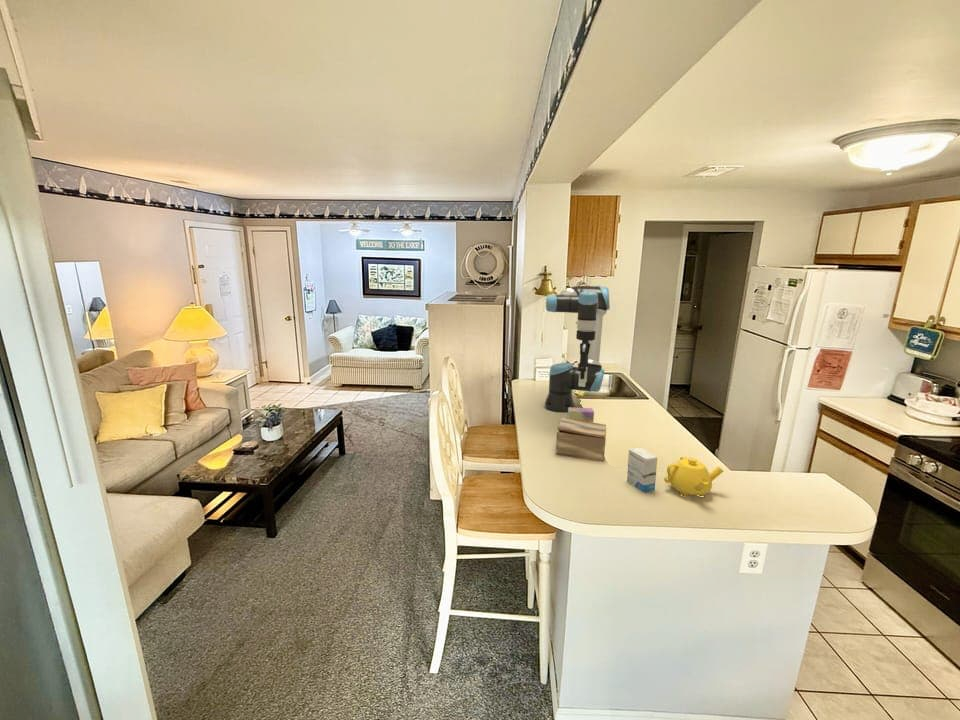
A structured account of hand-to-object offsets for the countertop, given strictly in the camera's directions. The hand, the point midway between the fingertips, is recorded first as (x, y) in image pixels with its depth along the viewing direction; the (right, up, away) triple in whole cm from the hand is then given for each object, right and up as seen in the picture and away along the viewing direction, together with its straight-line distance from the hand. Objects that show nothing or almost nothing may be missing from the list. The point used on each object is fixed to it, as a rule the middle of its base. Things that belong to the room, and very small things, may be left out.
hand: (582, 383), depth 176 cm
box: (0, -23, +5) cm, 23 cm away
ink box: (+10, -32, -37) cm, 50 cm away
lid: (-3, -17, -14) cm, 22 cm away
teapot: (+25, -33, -41) cm, 59 cm away
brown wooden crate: (-4, -26, -12) cm, 29 cm away
